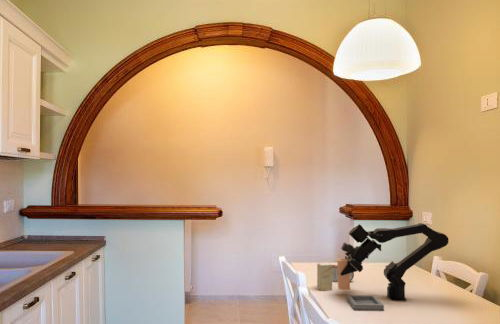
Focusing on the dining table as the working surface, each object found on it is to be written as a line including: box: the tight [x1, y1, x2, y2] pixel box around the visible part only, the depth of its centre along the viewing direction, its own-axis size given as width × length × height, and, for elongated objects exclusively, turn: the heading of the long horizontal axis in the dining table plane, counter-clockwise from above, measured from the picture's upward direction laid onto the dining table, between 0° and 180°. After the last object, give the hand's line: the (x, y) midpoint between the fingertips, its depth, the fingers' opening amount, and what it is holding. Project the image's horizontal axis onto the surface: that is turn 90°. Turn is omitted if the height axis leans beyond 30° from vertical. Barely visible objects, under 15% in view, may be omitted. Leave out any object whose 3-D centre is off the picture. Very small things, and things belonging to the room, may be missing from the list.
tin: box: [332, 264, 355, 283], centre depth 184 cm, size 15×3×8 cm, turn 84°
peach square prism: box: [336, 257, 351, 291], centre depth 162 cm, size 5×5×13 cm
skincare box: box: [316, 262, 333, 291], centre depth 171 cm, size 6×4×12 cm
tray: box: [346, 294, 385, 312], centre depth 150 cm, size 12×12×2 cm
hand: (340, 273), depth 162 cm, fingers closed on peach square prism, 5 cm apart
